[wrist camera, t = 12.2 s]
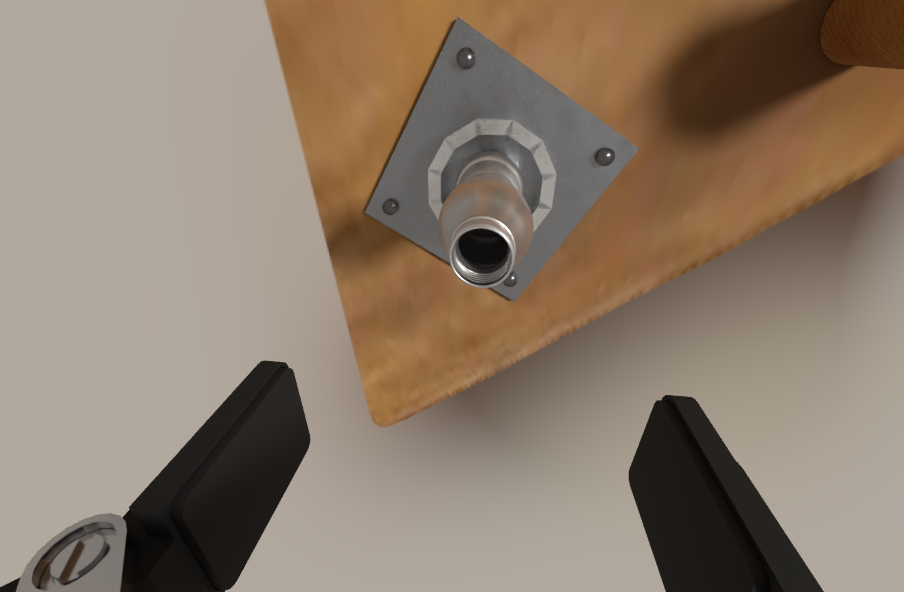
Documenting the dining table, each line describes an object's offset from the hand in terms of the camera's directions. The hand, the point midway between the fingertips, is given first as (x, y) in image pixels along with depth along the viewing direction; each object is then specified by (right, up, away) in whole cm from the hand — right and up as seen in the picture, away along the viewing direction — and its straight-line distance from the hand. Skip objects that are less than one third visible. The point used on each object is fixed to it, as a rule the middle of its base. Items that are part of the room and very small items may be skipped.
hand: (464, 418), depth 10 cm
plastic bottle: (+4, +15, +28) cm, 32 cm away
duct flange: (+4, +15, +28) cm, 32 cm away
